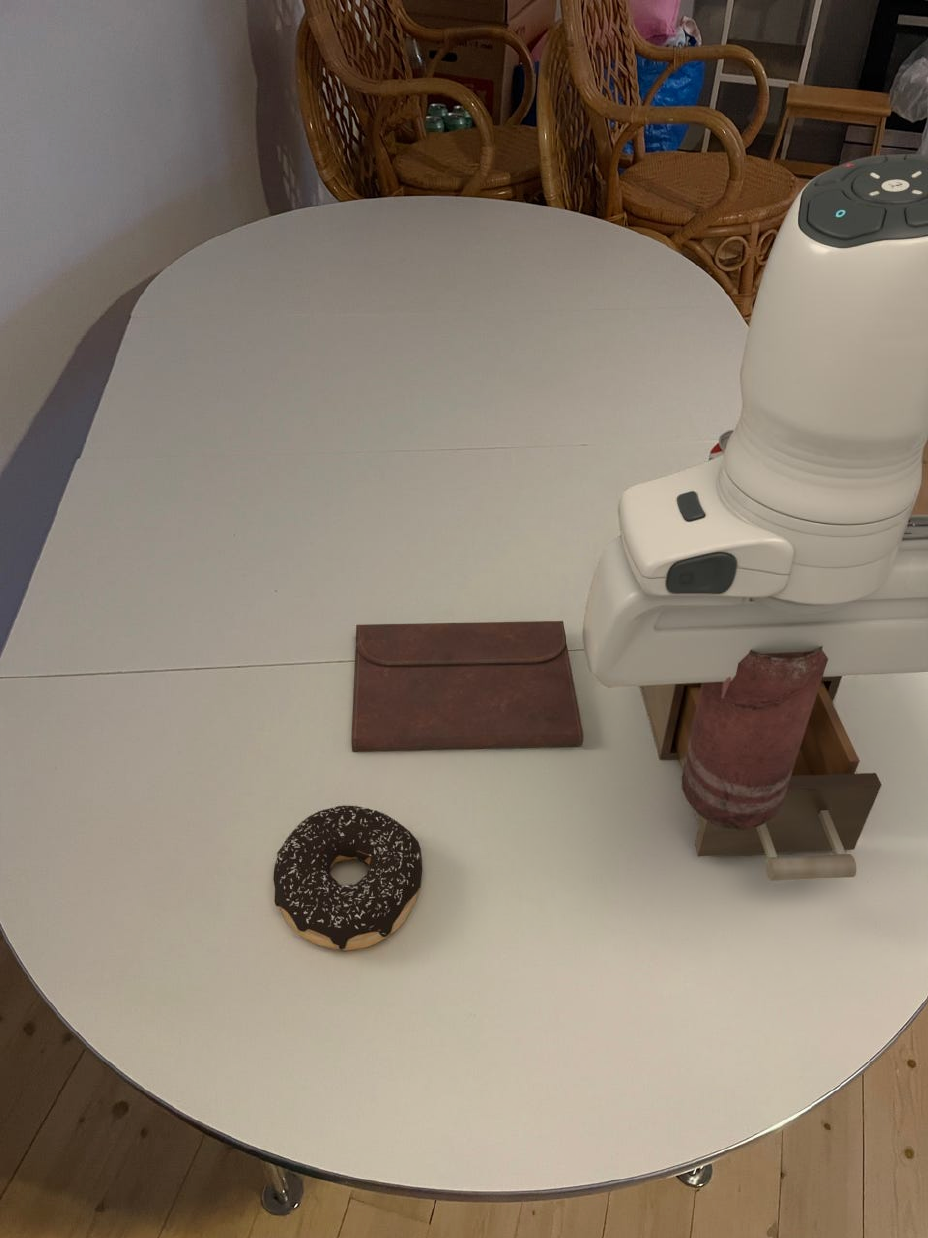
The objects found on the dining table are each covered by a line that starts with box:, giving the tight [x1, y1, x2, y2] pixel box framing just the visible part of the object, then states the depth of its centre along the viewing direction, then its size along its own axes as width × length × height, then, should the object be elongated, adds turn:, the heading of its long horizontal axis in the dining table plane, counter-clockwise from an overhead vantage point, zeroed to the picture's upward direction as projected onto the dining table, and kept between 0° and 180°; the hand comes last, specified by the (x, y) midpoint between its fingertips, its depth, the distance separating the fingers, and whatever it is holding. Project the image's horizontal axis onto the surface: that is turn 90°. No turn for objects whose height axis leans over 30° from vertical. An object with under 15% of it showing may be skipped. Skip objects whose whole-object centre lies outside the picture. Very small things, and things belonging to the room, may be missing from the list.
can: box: [681, 646, 828, 830], centre depth 59 cm, size 6×6×14 cm
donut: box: [272, 804, 424, 951], centre depth 77 cm, size 11×12×4 cm
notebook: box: [351, 620, 584, 752], centre depth 94 cm, size 15×20×2 cm
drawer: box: [673, 681, 882, 882], centre depth 81 cm, size 19×12×8 cm, turn 4°
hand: (752, 719), depth 59 cm, fingers closed, pressing on can
